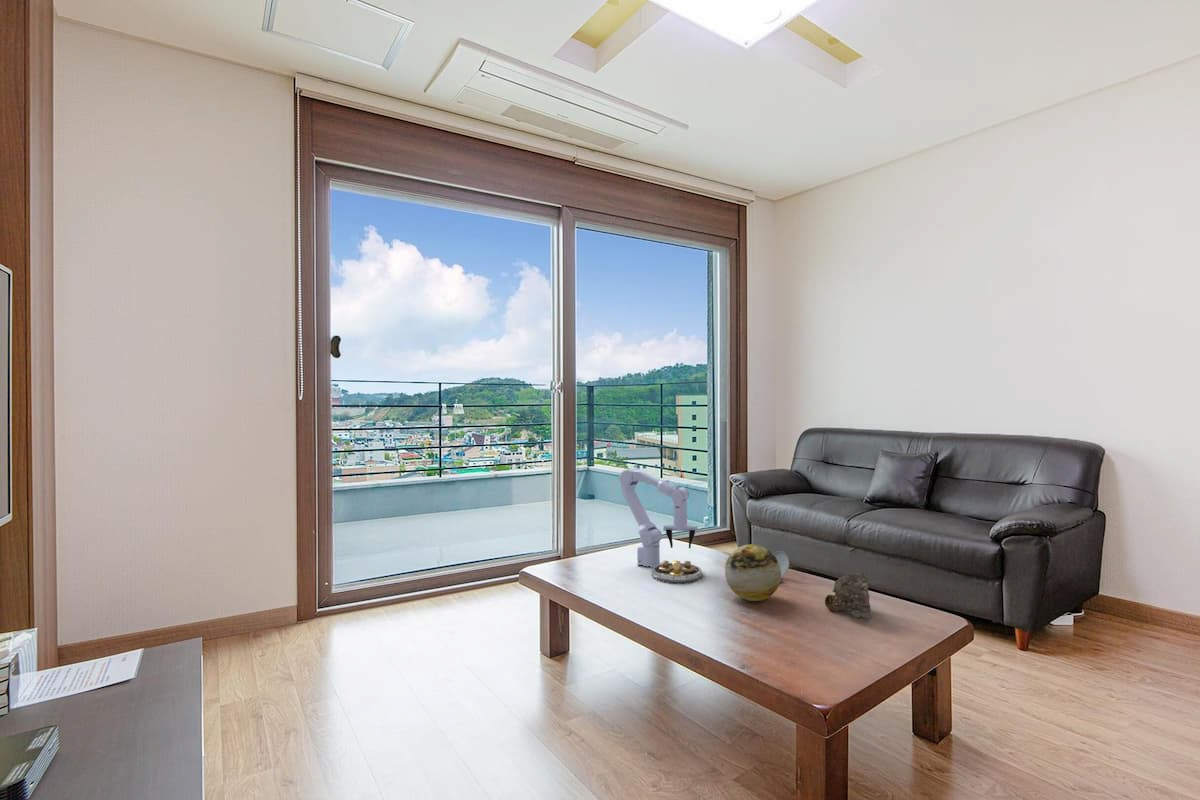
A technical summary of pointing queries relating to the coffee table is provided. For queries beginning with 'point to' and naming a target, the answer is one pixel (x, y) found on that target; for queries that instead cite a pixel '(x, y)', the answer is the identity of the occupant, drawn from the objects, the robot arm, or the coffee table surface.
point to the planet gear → (676, 569)
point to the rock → (850, 596)
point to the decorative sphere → (753, 572)
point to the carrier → (690, 575)
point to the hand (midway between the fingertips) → (680, 547)
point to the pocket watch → (782, 561)
